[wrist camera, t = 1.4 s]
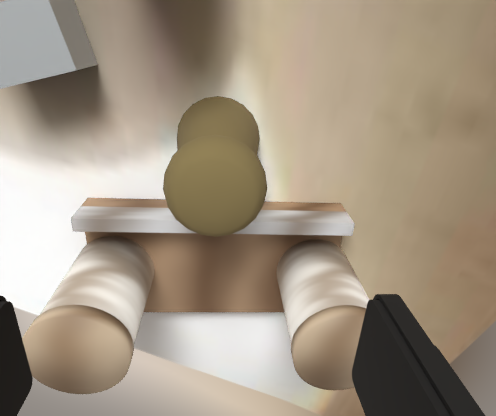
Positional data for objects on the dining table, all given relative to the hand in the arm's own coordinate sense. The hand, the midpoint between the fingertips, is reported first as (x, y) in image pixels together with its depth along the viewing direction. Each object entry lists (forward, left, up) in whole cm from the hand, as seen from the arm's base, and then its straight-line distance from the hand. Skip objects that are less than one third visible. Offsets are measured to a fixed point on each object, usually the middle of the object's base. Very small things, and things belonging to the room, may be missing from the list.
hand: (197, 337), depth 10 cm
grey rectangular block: (+11, -6, -19) cm, 23 cm away
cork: (0, 0, -19) cm, 19 cm away
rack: (0, +10, -19) cm, 21 cm away
